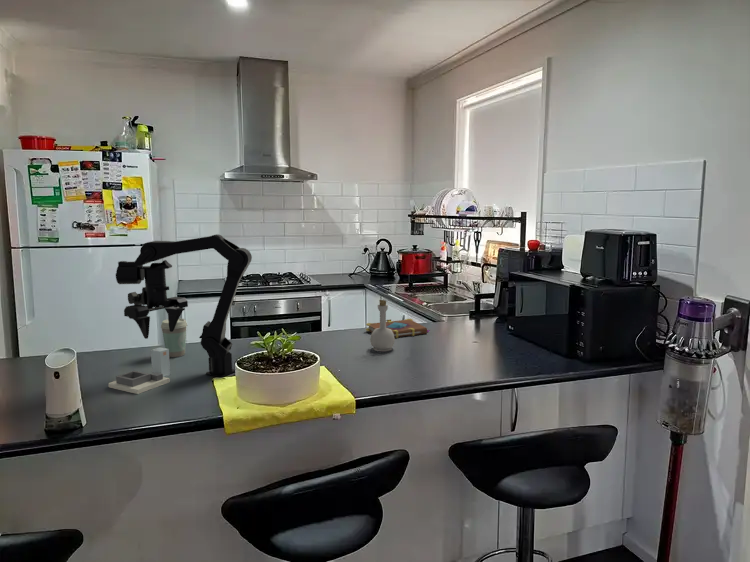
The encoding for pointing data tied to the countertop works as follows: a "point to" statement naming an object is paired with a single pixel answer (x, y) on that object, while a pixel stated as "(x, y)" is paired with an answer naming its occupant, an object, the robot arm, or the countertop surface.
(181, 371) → the countertop surface
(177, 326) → the coffee cup
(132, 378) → the board
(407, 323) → the book
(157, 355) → the plug
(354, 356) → the countertop surface
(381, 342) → the potion bottle
